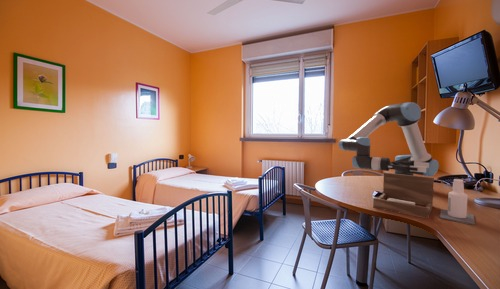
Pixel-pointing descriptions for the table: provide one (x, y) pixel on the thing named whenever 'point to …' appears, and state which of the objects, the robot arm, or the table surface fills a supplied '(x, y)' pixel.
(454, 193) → the spray bottle
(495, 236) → the table surface
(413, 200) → the rack
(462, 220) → the mat
